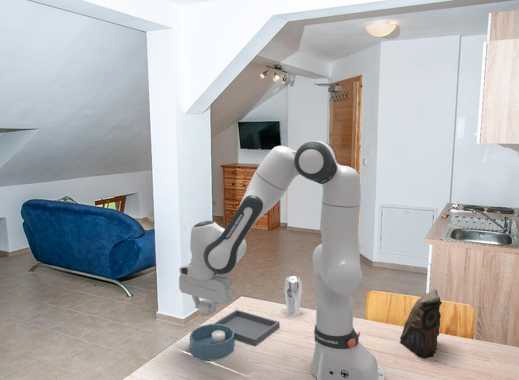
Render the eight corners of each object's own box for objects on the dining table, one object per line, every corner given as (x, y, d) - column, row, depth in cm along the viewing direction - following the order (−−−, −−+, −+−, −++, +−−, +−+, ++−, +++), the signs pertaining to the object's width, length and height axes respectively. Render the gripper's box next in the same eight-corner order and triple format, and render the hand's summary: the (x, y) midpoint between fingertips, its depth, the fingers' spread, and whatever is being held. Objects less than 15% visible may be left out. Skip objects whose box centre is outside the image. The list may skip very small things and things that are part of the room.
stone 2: (227, 341, 149) (227, 332, 148) (219, 347, 145) (219, 338, 144) (217, 338, 151) (217, 329, 151) (209, 343, 148) (208, 334, 147)
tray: (279, 329, 159) (279, 321, 159) (255, 348, 146) (255, 339, 146) (236, 316, 170) (236, 309, 170) (210, 332, 157) (210, 325, 157)
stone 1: (215, 311, 142) (215, 302, 141) (206, 317, 138) (206, 307, 138) (204, 308, 144) (204, 299, 144) (195, 313, 141) (195, 303, 140)
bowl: (242, 345, 148) (242, 330, 147) (215, 365, 136) (215, 349, 135) (210, 334, 156) (209, 320, 155) (181, 352, 144) (181, 337, 143)
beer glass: (304, 313, 173) (305, 277, 171) (296, 319, 167) (297, 283, 165) (289, 309, 177) (289, 274, 175) (281, 315, 171) (281, 280, 169)
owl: (433, 339, 151) (436, 286, 148) (451, 359, 139) (455, 300, 136) (398, 341, 150) (400, 287, 147) (414, 361, 138) (417, 302, 135)
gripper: (235, 273, 136) (236, 314, 138) (188, 262, 147) (189, 300, 149) (223, 279, 131) (224, 321, 133) (175, 267, 142) (176, 306, 144)
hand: (205, 310), depth 141 cm, fingers closed on stone 1, 5 cm apart
